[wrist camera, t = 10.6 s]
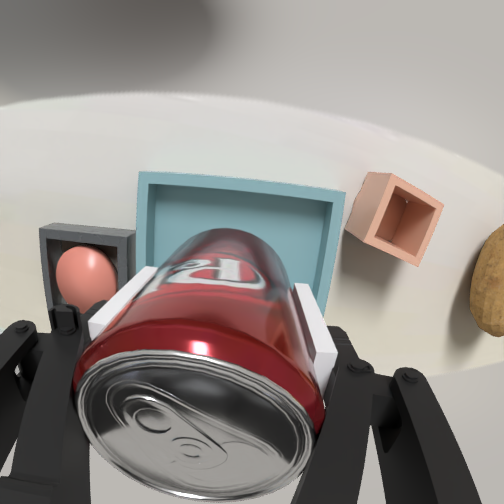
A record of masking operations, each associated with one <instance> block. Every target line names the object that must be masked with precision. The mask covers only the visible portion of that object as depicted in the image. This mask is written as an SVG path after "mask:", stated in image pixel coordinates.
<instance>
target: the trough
mask: <svg viewBox="0 0 504 504" xmlns="http://www.w3.org/2000/svg"><path fill="white" fill-rule="evenodd" d="M345 195H346V192H342V191H338V190H332V189H326V188H319V187H312V186H305V185H298V184H290V183H282V182H274V181H265V180H256V179H247V178H237V177H226V176H215V175H203V174H189V173H174V172H155V171H143V172H139V178H138V194H137V216H136V274H138V273H139V272H140V271H141V270H142V269H143V268H144V267H145V266H150V267H157V268H159V267H160V266H161V265H162V264H163V263H164V262H165V261H166V260H167V259H168V258H169V256H170V255H171V254H172V253H173V252H174V251H175V250H176V249H177V248H178V247H179V246H180V245H181V244H183V243H184V242H185V241H186V240H188V239H189V238H190V237H192V236H194V235H196V234H198V233H200V232H203V231H207V230H210V229H216V228H232V229H240V230H243V231H246V232H249V233H252V234H253V235H255V236H257V237H259V238H260V239H262V240H264V241H265V242H266V243H267V244H268V245H269V246H271V247H272V248H273V249H274V251H275V252H276V253H277V254H278V256H279V257H280V258H281V260H282V262H283V264H284V266H285V269H286V271H287V275H288V278H289V281H290V285H291V288H292V292H293V287H294V283H303V284H308V285H309V287H310V289H311V291H312V294H313V296H314V298H315V300H316V303H317V305H318V307H319V310H320V312H321V314H322V317H323V316H324V312H325V307H326V303H327V298H328V293H329V288H330V283H331V278H332V273H333V268H334V263H335V257H336V252H337V246H338V240H339V234H340V228H341V222H342V215H343V209H344V202H345Z"/></svg>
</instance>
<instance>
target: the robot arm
mask: <svg viewBox="0 0 504 504" xmlns="http://www.w3.org/2000/svg"><path fill="white" fill-rule="evenodd" d="M157 269H158V268H157V267H150V266H145V267H144V268H143V269H142V270H141V271H140V272H139V273H138V274H136V275H135V276H134V277H133V278H132V279H131V280H130V281H129V282H128V283H127V284H126V285H125V286H124V287H123V288H122V289H121V290H119V291H118V292H117V293H116V294H115V295H114V296H113V297H112V298H111V299H110V300H109V301H108V300H101V301H99V302H97V303H95V304H94V305H93V306H91V307H90V309H88V310H87V311H86V312H85V313H84V314H83V315H82V316H80V309H79V308H78V307H77V306H75V305H72V304H60V305H56V306H54V307H52V308H50V310H49V311H48V313H49V319H50V324H51V329H52V331H51V333H37V330H36V326H35V324H34V323H33V322H31V321H25V320H22V321H21V320H20V321H17V322H15V323H13V324H11V325H10V326H9V327H8V328H7V329H6V330H5V331H4V332H3V333H2V334H1V335H0V472H1V469H2V467H3V465H4V463H5V461H6V459H7V457H8V455H9V453H10V451H11V449H12V447H13V445H14V443H15V441H16V439H17V443H16V448H15V452H14V458H13V463H12V469H11V473H10V475H9V476H8V477H6V476H1V477H0V504H91V496H90V470H89V446H90V443H89V441H88V440H87V438H86V436H85V435H84V432H83V429H82V427H81V424H80V421H79V419H78V416H77V413H76V410H75V402H74V391H73V385H72V382H73V376H74V372H75V368H76V364H77V362H78V360H79V358H80V357H81V355H82V353H83V352H84V350H85V349H86V347H87V346H88V345H89V344H90V343H91V342H92V340H93V339H94V338H95V337H96V336H97V335H98V334H99V332H100V331H101V330H102V329H103V328H104V327H105V326H106V324H107V323H108V322H109V321H110V320H111V319H112V318H113V317H114V316H115V314H116V313H117V312H118V311H119V310H120V309H121V308H122V307H123V306H124V304H125V303H126V302H127V301H128V300H129V299H130V298H131V297H132V296H133V295H134V294H135V292H136V291H137V290H138V289H139V288H140V287H141V286H142V285H143V284H144V283H145V282H146V281H147V280H148V278H149V277H150V276H151V275H152V274H153V273H154V272H155V271H156V270H157ZM293 295H294V298H295V302H296V305H297V309H298V312H299V316H300V319H301V323H302V326H303V330H304V333H305V337H306V341H307V344H308V348H309V351H310V355H311V359H312V362H313V366H314V370H315V373H316V377H317V381H318V384H319V388H320V392H321V396H322V399H324V402H325V406H326V407H325V414H326V416H325V420H324V423H323V426H322V428H321V431H320V434H319V436H318V439H317V442H316V445H315V448H314V450H313V452H312V455H311V457H310V459H309V461H308V464H307V466H306V468H305V470H304V471H303V474H302V476H301V479H300V481H299V484H298V486H297V489H296V491H295V494H294V496H293V499H292V501H291V504H357V500H358V495H359V490H360V486H361V480H362V475H363V469H364V463H365V456H366V450H367V443H368V435H369V427H370V425H372V430H373V435H374V439H375V445H376V449H377V454H378V460H379V465H380V470H381V475H382V481H383V487H384V492H385V499H386V504H482V503H481V500H480V498H479V495H478V492H477V489H476V487H475V484H474V481H473V479H472V476H471V474H470V471H469V469H468V466H467V464H466V462H465V459H464V457H463V455H462V452H461V450H460V448H459V446H458V443H457V441H456V439H455V436H454V434H453V432H452V430H451V428H450V426H449V424H448V421H447V419H446V417H445V415H444V413H443V411H442V409H441V407H440V405H439V403H438V401H437V399H436V397H435V395H434V393H433V391H432V389H431V387H430V385H429V384H428V382H427V380H426V378H425V376H424V375H423V374H422V373H421V372H419V371H418V370H416V369H413V368H407V367H403V368H399V369H397V370H396V371H395V373H394V375H393V377H390V376H385V375H380V374H376V373H374V368H373V367H372V366H371V364H370V363H368V362H366V361H364V360H361V359H359V357H358V355H357V353H356V351H355V349H354V348H353V346H352V345H351V342H350V340H349V338H348V336H347V334H346V332H345V331H343V330H342V329H341V328H340V327H338V326H326V324H325V321H324V319H323V317H322V314H321V312H320V310H319V307H318V305H317V303H316V300H315V298H314V296H313V294H312V291H311V289H310V287H309V285H308V284H303V283H294V287H293ZM17 365H18V368H19V370H20V372H19V373H18V374H17V375H16V373H15V368H16V366H17ZM17 437H18V438H17Z"/></svg>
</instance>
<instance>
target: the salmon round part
mask: <svg viewBox="0 0 504 504" xmlns="http://www.w3.org/2000/svg"><path fill="white" fill-rule="evenodd" d="M56 279H57V284H58V287H59V290H60V292H61V294H62V296H63V298H64V299H65V300H66V302H67V303H68V304H72V305H75V306H77V307H78V308H79V309H80V313H82V314H84V313H85V312H86V311H87V310H88V309H90V307H91V306H93V305H94V304H95V303H97V302H99V301H101V300H108V301H109V300H110V299H111V298H112V297H113V296H114V295H115V294H116V293H117V292H118V291H119V288H118V275H117V272H116V269H115V267H114V265H113V263H112V262H111V260H110V259H109V258H108V257H107V255H106V254H104V253H103V252H102V251H101V250H99V249H98V248H96V247H93V246H90V245H78V246H75V247H73V248H71V249H69V250H67V251H66V252H65V253H64V254H63V255H62V256H61V257H60V259H59V261H58V264H57V269H56Z"/></svg>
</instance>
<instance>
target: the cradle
mask: <svg viewBox="0 0 504 504" xmlns="http://www.w3.org/2000/svg"><path fill="white" fill-rule="evenodd" d="M39 238H40V253H41V264H42V273H43V281H44V289H45V296H46V302H47V308H48V311H49V310H50V308H52V307H54V306H56V305H60V304H67V302H66V300H65V299H64V298H63V296H62V294H61V292H60V290H59V287H58V284H57V279H56V269H57V264H58V261H59V259H60V257H61V256H62V245H61V240H66V241H74V242H82V243H91V244H99V245H108V246H116V247H117V262H118V288H119V290H121V289H122V288H123V287H124V286H125V285H126V284H127V283H128V282H129V281H130V280H131V279H132V278H133V277H134V276H135V275H136V230H126V229H116V228H105V227H94V226H84V225H73V224H62V223H52V224H49V225H46V226H43V227H41V228H39ZM48 314H49V313H48ZM82 315H83V314H82V313H80V316H82ZM49 320H50V319H49Z"/></svg>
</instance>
